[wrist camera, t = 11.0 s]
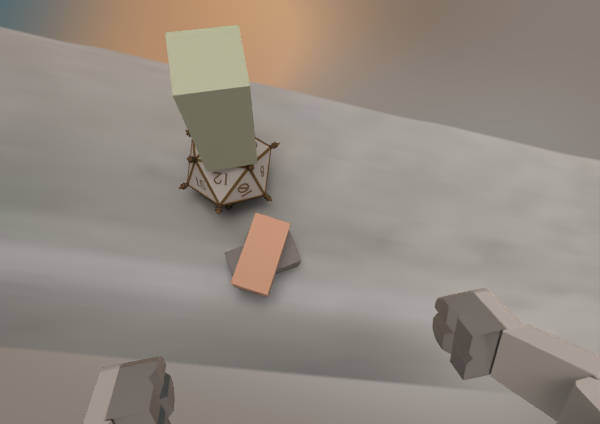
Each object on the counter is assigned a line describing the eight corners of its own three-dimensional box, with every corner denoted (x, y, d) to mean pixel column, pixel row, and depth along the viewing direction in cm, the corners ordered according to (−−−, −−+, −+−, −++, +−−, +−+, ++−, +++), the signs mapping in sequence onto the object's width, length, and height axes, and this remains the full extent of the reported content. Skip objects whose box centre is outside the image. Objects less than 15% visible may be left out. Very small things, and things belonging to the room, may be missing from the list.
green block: (206, 171, 28) (172, 95, 19) (200, 126, 29) (165, 32, 20) (257, 163, 29) (249, 85, 19) (249, 119, 30) (238, 24, 20)
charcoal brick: (238, 288, 34) (235, 285, 31) (228, 258, 35) (224, 252, 32) (298, 265, 35) (301, 260, 32) (287, 236, 36) (288, 229, 33)
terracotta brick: (267, 297, 31) (267, 294, 28) (234, 286, 31) (230, 283, 28) (288, 231, 33) (290, 223, 30) (257, 221, 33) (255, 212, 30)
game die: (232, 177, 41) (234, 88, 35) (290, 212, 37) (303, 117, 31) (162, 208, 35) (150, 106, 29) (222, 253, 31) (223, 146, 25)
